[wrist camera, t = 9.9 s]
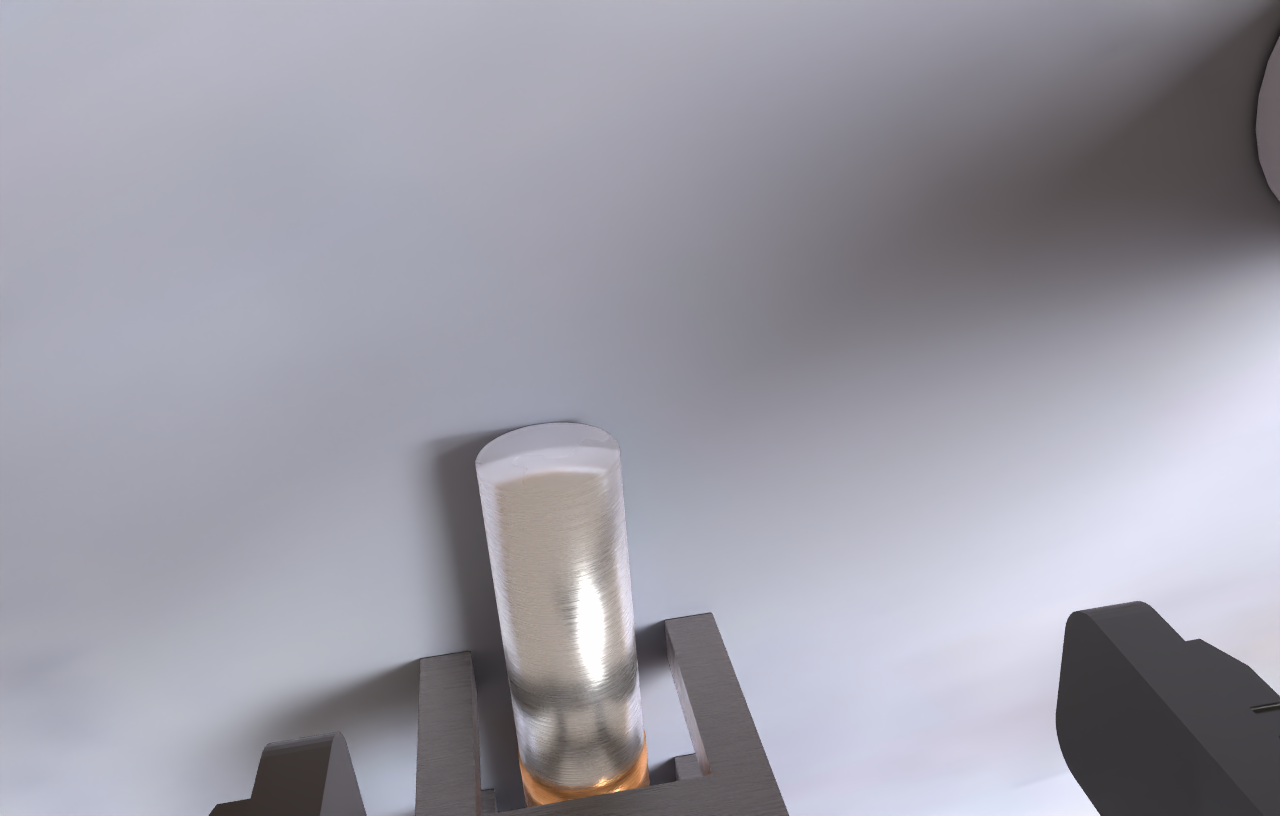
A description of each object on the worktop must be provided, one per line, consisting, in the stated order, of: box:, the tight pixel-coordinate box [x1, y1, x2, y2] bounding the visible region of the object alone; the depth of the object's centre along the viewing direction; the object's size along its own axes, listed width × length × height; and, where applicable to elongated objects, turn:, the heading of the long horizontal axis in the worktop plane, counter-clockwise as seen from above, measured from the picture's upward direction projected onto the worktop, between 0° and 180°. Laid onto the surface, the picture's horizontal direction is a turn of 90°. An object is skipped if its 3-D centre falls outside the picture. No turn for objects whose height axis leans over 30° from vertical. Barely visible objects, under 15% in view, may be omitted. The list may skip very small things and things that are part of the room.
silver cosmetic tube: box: [476, 422, 650, 808], centre depth 33 cm, size 16×4×4 cm, turn 4°
